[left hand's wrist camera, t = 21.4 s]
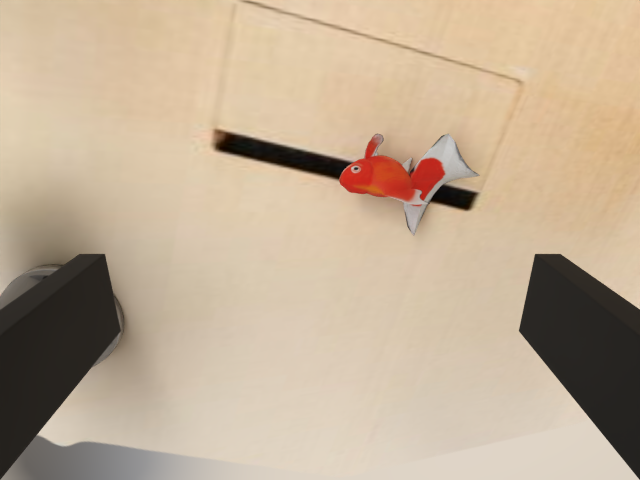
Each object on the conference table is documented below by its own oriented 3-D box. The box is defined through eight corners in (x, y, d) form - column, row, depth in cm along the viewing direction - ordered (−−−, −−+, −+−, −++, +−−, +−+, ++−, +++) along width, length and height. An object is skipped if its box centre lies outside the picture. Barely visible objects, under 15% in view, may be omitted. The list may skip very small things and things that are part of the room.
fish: (363, 85, 40) (403, 144, 33) (469, 124, 47) (518, 178, 41) (316, 170, 46) (343, 232, 40) (417, 192, 54) (452, 247, 48)
